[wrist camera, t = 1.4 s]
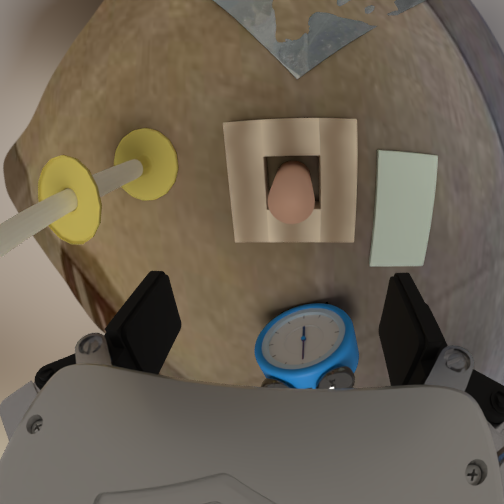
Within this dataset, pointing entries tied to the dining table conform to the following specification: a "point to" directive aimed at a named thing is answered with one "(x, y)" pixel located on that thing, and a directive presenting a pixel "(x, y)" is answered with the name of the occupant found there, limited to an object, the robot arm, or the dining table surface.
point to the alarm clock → (308, 349)
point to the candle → (93, 189)
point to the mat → (402, 207)
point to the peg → (291, 193)
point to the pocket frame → (292, 144)
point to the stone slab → (309, 45)
